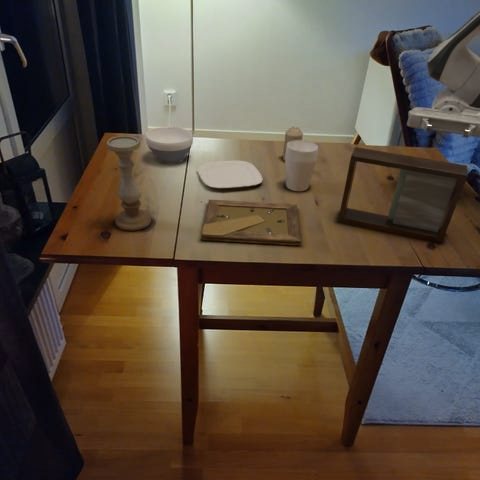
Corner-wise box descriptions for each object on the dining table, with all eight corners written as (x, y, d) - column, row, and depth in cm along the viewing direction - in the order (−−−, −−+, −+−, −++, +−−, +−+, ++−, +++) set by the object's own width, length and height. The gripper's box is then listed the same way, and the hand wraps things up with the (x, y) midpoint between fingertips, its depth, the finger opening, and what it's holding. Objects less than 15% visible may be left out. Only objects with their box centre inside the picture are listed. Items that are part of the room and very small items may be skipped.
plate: (249, 163, 146) (250, 158, 145) (267, 188, 134) (268, 183, 132) (193, 168, 142) (193, 162, 141) (206, 194, 129) (206, 188, 128)
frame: (341, 211, 125) (355, 146, 113) (442, 231, 119) (467, 165, 107) (337, 222, 121) (351, 155, 109) (441, 243, 115) (467, 175, 103)
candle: (285, 163, 148) (289, 131, 141) (280, 156, 152) (283, 125, 145) (301, 162, 149) (306, 130, 143) (296, 155, 153) (300, 124, 147)
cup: (313, 182, 138) (320, 142, 130) (311, 195, 132) (317, 153, 124) (284, 178, 139) (288, 138, 132) (279, 191, 133) (284, 149, 125)
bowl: (144, 151, 151) (142, 127, 146) (188, 148, 154) (187, 125, 149) (151, 169, 140) (148, 144, 135) (197, 166, 144) (197, 141, 139)
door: (389, 211, 123) (403, 159, 113) (431, 219, 120) (450, 167, 111) (387, 218, 119) (402, 166, 110) (431, 227, 117) (450, 174, 108)
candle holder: (109, 219, 117) (96, 138, 103) (141, 210, 121) (132, 132, 107) (124, 234, 112) (112, 152, 98) (157, 225, 116) (149, 144, 102)
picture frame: (202, 240, 111) (300, 246, 111) (201, 234, 110) (301, 239, 110) (208, 204, 125) (295, 209, 125) (208, 198, 124) (296, 203, 124)
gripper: (412, 98, 127) (408, 112, 117) (491, 108, 122) (494, 124, 112) (405, 121, 131) (401, 137, 121) (482, 132, 126) (484, 150, 116)
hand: (447, 131), depth 116 cm, fingers open, 8 cm apart
